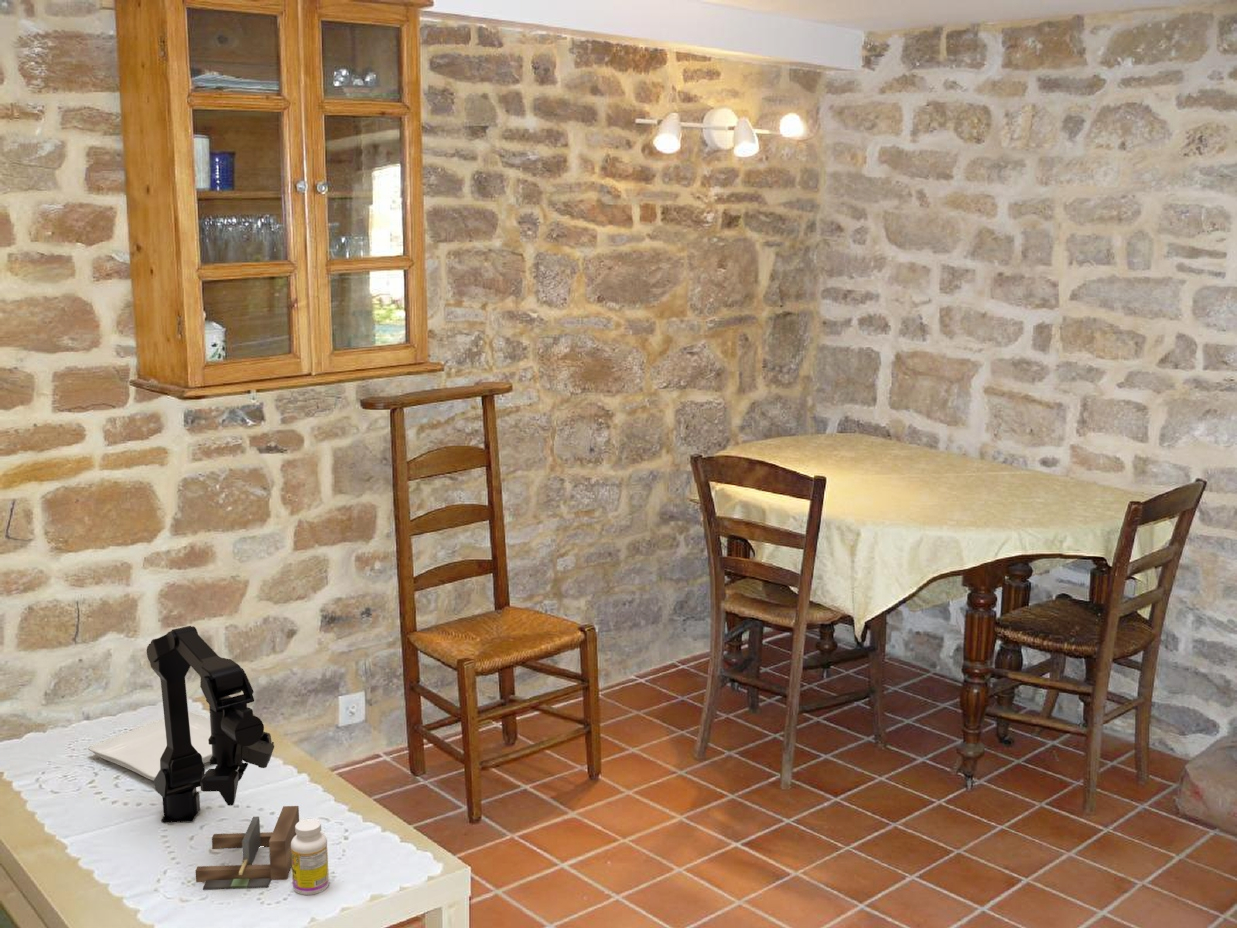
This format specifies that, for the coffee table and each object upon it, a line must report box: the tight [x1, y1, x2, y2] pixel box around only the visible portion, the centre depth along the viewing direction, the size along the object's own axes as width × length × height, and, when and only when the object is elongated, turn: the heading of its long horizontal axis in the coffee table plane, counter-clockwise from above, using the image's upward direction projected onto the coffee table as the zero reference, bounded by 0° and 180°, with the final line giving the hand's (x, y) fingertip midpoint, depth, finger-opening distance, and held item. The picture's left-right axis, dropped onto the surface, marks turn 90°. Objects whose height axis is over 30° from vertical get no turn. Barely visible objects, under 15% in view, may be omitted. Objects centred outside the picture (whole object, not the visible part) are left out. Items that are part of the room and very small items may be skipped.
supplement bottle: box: [291, 818, 330, 896], centre depth 232 cm, size 7×7×13 cm
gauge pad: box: [239, 816, 261, 875], centre depth 239 cm, size 1×15×6 cm, turn 4°
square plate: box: [87, 710, 212, 782], centre depth 290 cm, size 27×27×4 cm
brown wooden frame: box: [195, 805, 300, 891], centre depth 240 cm, size 17×17×8 cm
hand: (231, 804), depth 240 cm, fingers closed
